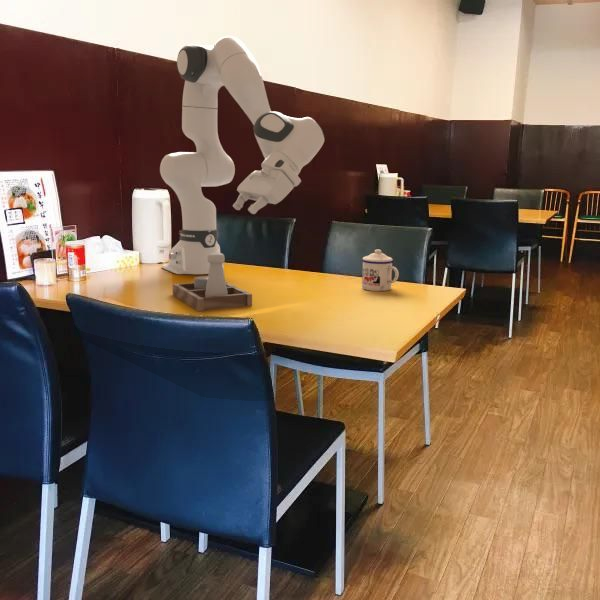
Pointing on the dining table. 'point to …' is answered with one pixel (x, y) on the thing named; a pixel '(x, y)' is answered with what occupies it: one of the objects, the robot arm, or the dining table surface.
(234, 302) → the brown wooden divided tray
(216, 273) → the salt shaker
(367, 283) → the teacup with lid
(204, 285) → the gray block
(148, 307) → the dining table surface
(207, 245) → the robot arm
